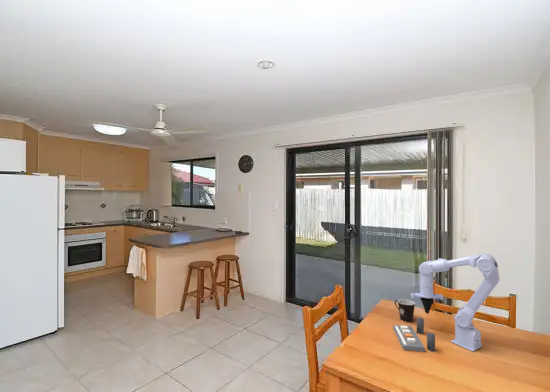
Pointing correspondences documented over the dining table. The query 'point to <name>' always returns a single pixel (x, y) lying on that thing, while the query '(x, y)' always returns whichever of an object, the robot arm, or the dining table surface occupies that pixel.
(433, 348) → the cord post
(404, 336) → the breaker panel
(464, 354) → the dining table surface
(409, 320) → the coffee mug
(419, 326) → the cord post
